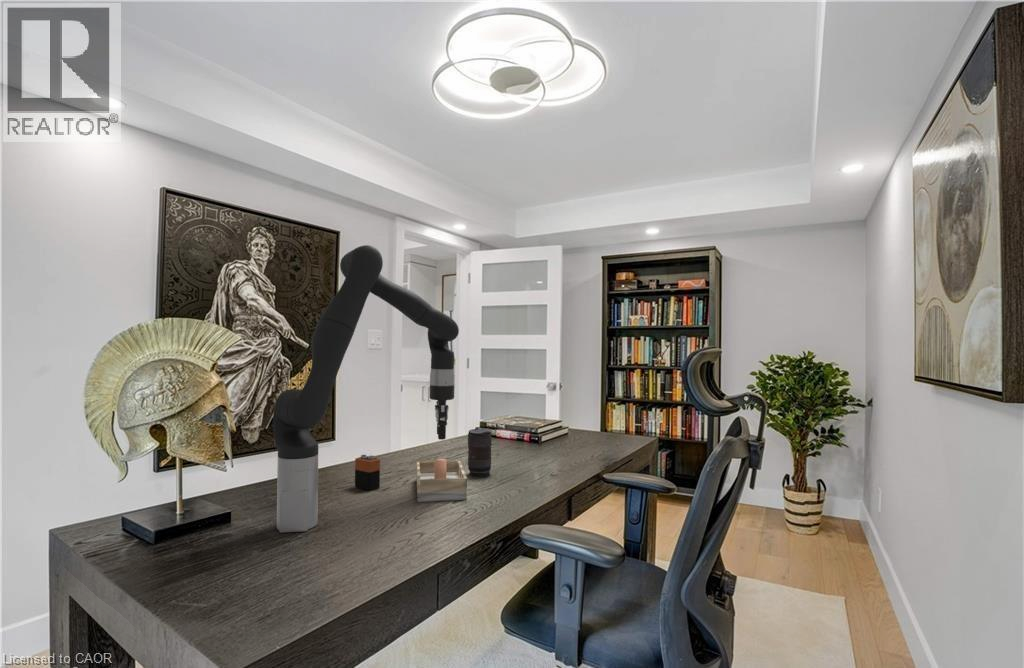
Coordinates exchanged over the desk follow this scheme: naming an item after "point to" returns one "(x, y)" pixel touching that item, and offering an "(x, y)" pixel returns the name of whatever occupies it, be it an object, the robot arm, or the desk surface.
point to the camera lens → (479, 452)
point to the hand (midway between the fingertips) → (441, 436)
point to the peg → (440, 469)
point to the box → (441, 482)
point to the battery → (367, 472)
